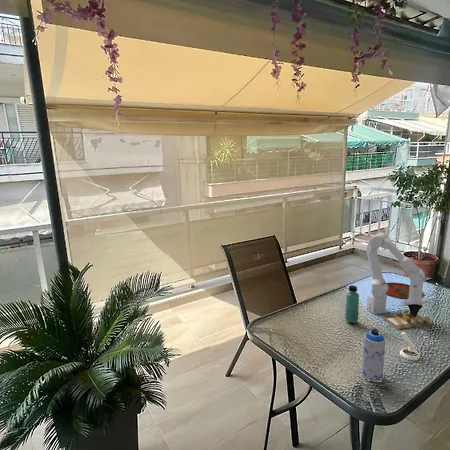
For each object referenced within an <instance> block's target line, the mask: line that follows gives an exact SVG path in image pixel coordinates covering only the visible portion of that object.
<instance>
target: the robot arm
mask: <svg viewBox="0 0 450 450" xmlns="http://www.w3.org/2000/svg"><path fill="white" fill-rule="evenodd" d="M379 248H381V249H385V250H388V251H389V252H390V253H391V254H392V255H393V256H394V257H395V258H396V259H397V260H398V265H399V266H400V267H401V268H402V269H403V270H404V271H405V273H406V274H407V275H408V279H409V280H410V281H409V285H410V289H409V299H403V300H401V302H400V304H401V306H403V307H406V306H407V307H408V311H409V312H410V314H412V315H413V316H414V318H415V317H416V316H417V314H419V312H420V310H421V309H422V308H423V304H425V303H426V304H428V303H429V299H428V298H425V297H422V291H423V288H424V280H423V279H424V278H425V276H426V273H425V271H424V269H422V268H420V267H419V266H417V264H415V263H414V260H413V259H412V258H410V257H408V256H405V255H404V254H403V253H402V251H401V250H400V249H399V248H398V247H397V245H395V243H394V242H393V240H392V239H391V238H390V236H388V235H387V234H386V233H385V232H381V231H380V232H378V233H377V234H374V235H373V236H371V237H370V238H369V239H368V243H367V245H366V247H365V250H366V256H367V259H368V264H369V267H370V274H371V277H372V281H371V289H370V291H371V292H370V293H371V295H370V296H367V298H366V307H365V309H366V310H367V311H369V312H371V313H372V314H373V315H378V314H387V313H390V311H389V310H388V309H387V297H388V295H386V292H387V291H388V289H389V287H388V285H387V284H386V283H387V282H386V279H385V278H384V277H383V273H382V268H381V262H380V259H379V253H378V251H379ZM423 292H424V291H423Z"/></svg>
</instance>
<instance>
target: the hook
mask: <svg viewBox="0 0 450 450" xmlns="http://www.w3.org/2000/svg"><path fill="white" fill-rule="evenodd" d="M401 336H402V338H403V339H404V340H405V342H406V344H407V345H408V347H403V348H401V350H400V351H399V355H400V356H401V355H402V356H403V357H405V358H407V359H406V360H408V359H410V360H409V361H411V360H417V359H419V358H420V359H421V355H420V354H419V352H418V351H417V350H416V349H415V348H416V347H415V345H414V343H412V341H411V339H410V338H409V336H408V335H407V333H406V332H404V331H403V332H401ZM404 350H405V351H407V350H408V352H411V353H414V354H415V355H409V354H406V353H405V352H404ZM417 354H418V355H417ZM402 356H401V357H402ZM403 357H402V358H403ZM405 358H404V359H405ZM420 359H419V360H420ZM417 361H418V360H417Z"/></svg>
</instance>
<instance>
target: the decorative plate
mask: <svg viewBox="0 0 450 450" xmlns="http://www.w3.org/2000/svg"><path fill="white" fill-rule="evenodd" d="M386 284H387V285H388V287H389V289H388V291H387V292H386V295H387V297H392V298H395V299H399V300H406V299H409V289H410V284H407V283H403V282H386ZM424 295H425V293H424V291H422V298H424Z"/></svg>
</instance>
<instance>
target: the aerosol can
mask: <svg viewBox="0 0 450 450" xmlns="http://www.w3.org/2000/svg"><path fill="white" fill-rule="evenodd" d="M362 346H363V347H362V363H361V372H362V375H363V376H364V377H365V378H367V379H369V380H372V381H380V380H382V378H383V379H384V364H385V353H386V352H385V351H386V338H385V337H384V335H383V334H382V333H380V332H379V329H377V328H372V329H371V330H370V331H367V332H365V333H364V336H363V345H362ZM362 375H361V376H362Z"/></svg>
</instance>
